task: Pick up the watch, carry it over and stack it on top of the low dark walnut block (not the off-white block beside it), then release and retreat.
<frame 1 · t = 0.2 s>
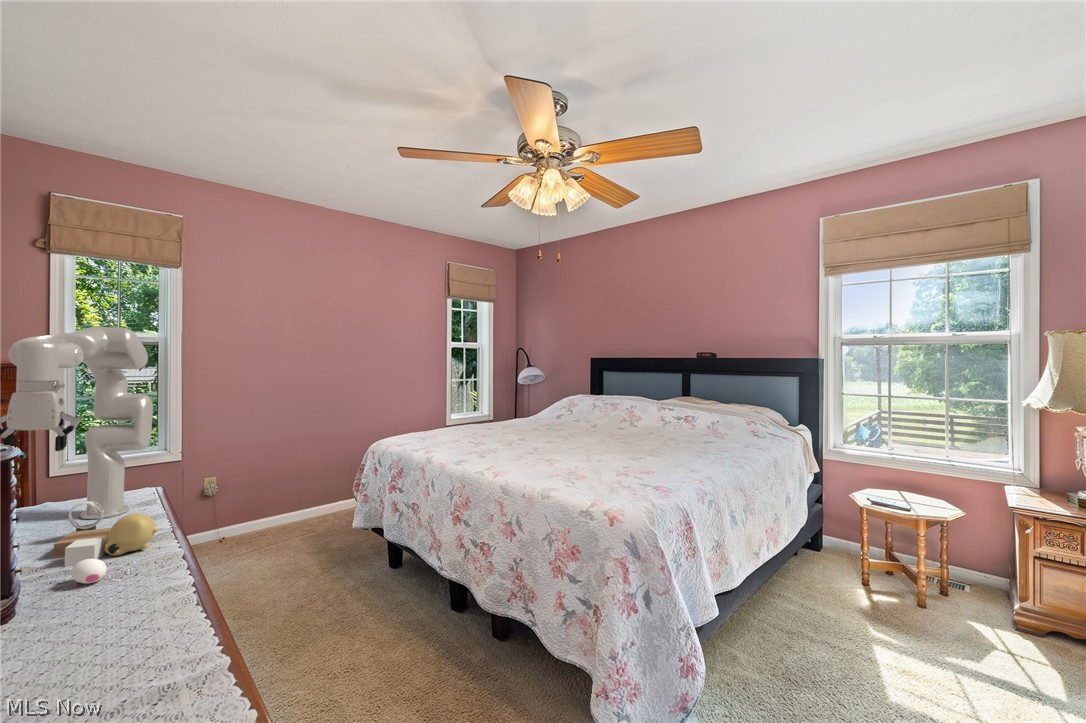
hand: (35, 451, 122), 31 cm above the dresser, fingers open, 9 cm apart
off-white block: (84, 560, 126), on the dresser
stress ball: (91, 582, 115), on the dresser
walnut block: (86, 549, 133), on the dresser
toy pig: (131, 551, 133), on the dresser
watch: (86, 538, 141), on the dresser
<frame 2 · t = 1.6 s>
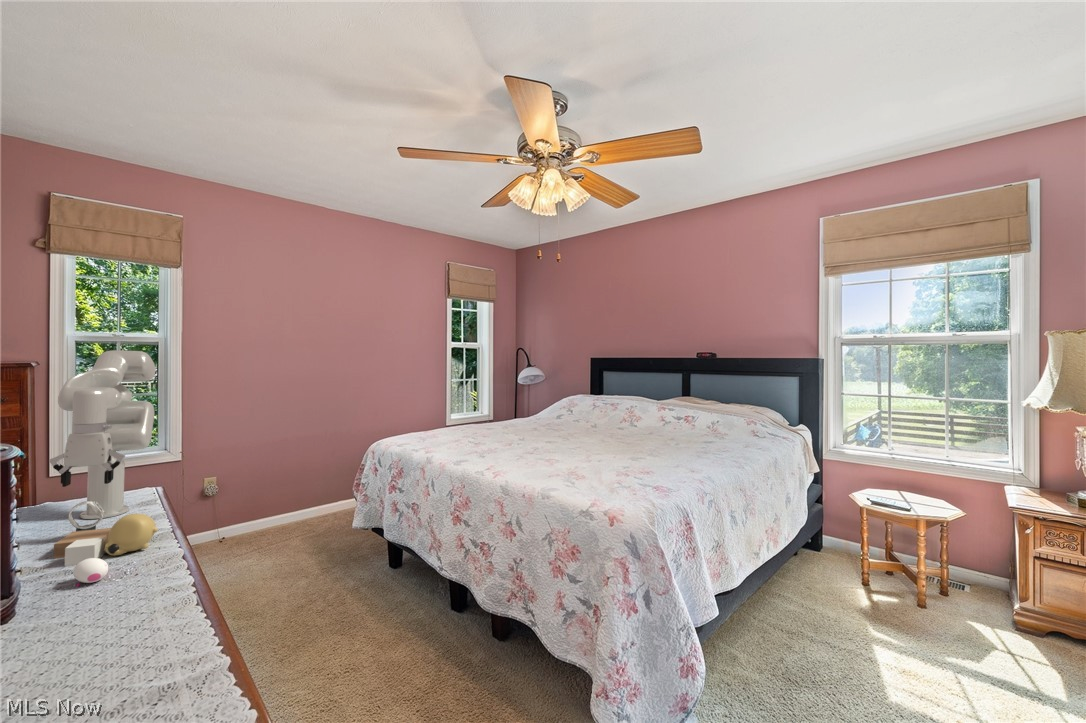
hand: (87, 484, 141), 17 cm above the dresser, fingers open, 9 cm apart
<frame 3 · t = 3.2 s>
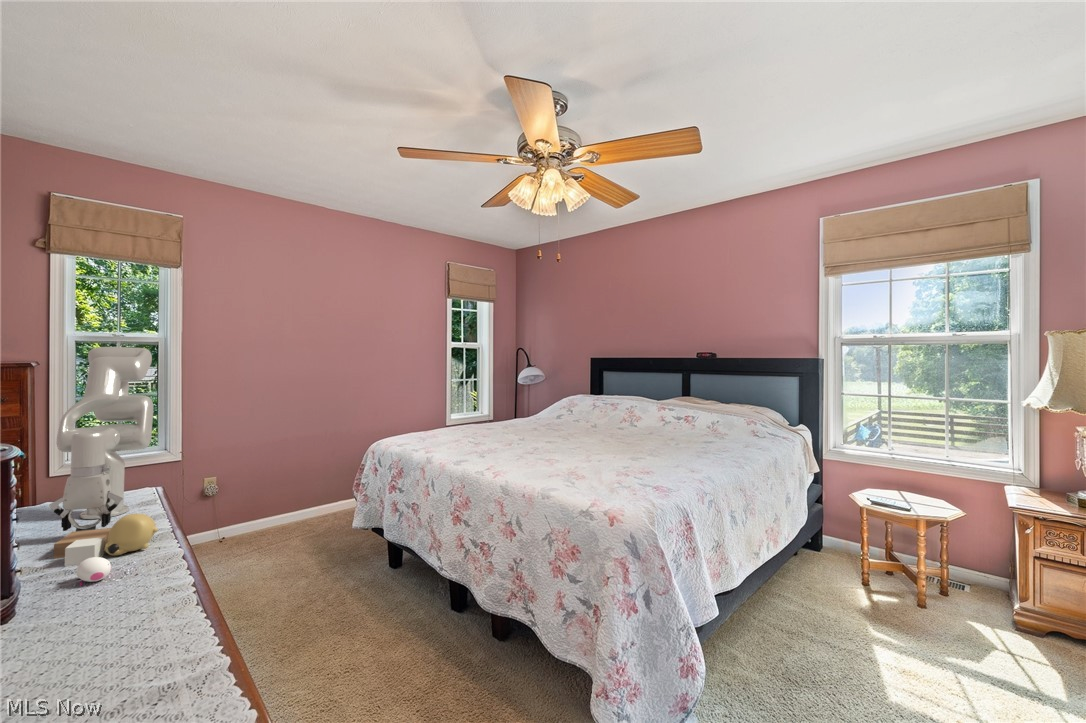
hand: (86, 527, 141), 3 cm above the dresser, fingers closed on watch, 8 cm apart
watch: (86, 538, 141), on the dresser, touching gripper
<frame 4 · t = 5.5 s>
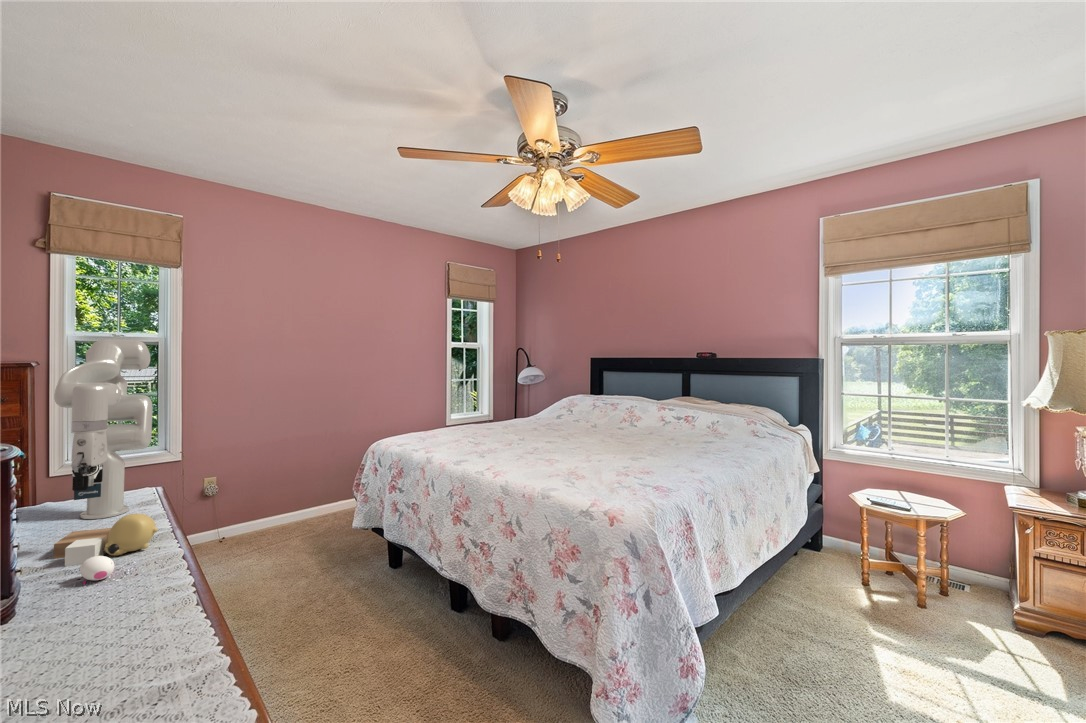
hand: (87, 485, 133), 18 cm above the dresser, fingers closed on watch, 8 cm apart
watch: (87, 497, 133), point 15 cm above the dresser, touching gripper
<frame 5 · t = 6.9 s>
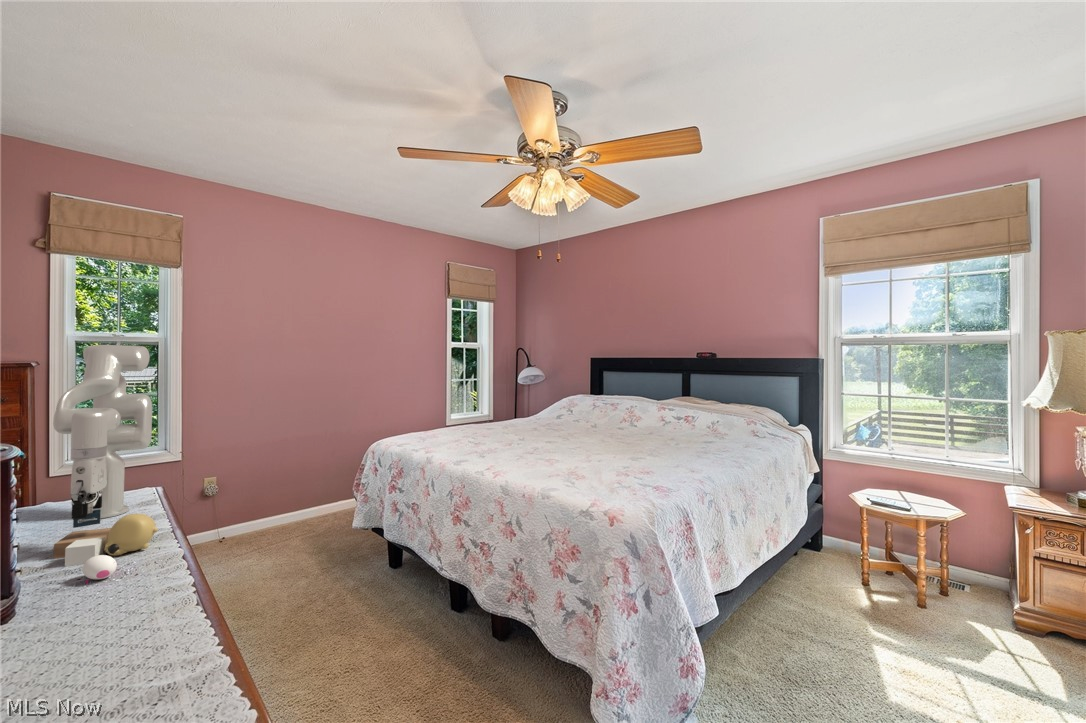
hand: (87, 512, 133), 11 cm above the dresser, fingers closed on watch, 8 cm apart
watch: (87, 524, 133), point 7 cm above the dresser, touching gripper
when the fingers open (8 cm above the dresser, at t = 8.1 s): watch stays where it is, resting on walnut block.
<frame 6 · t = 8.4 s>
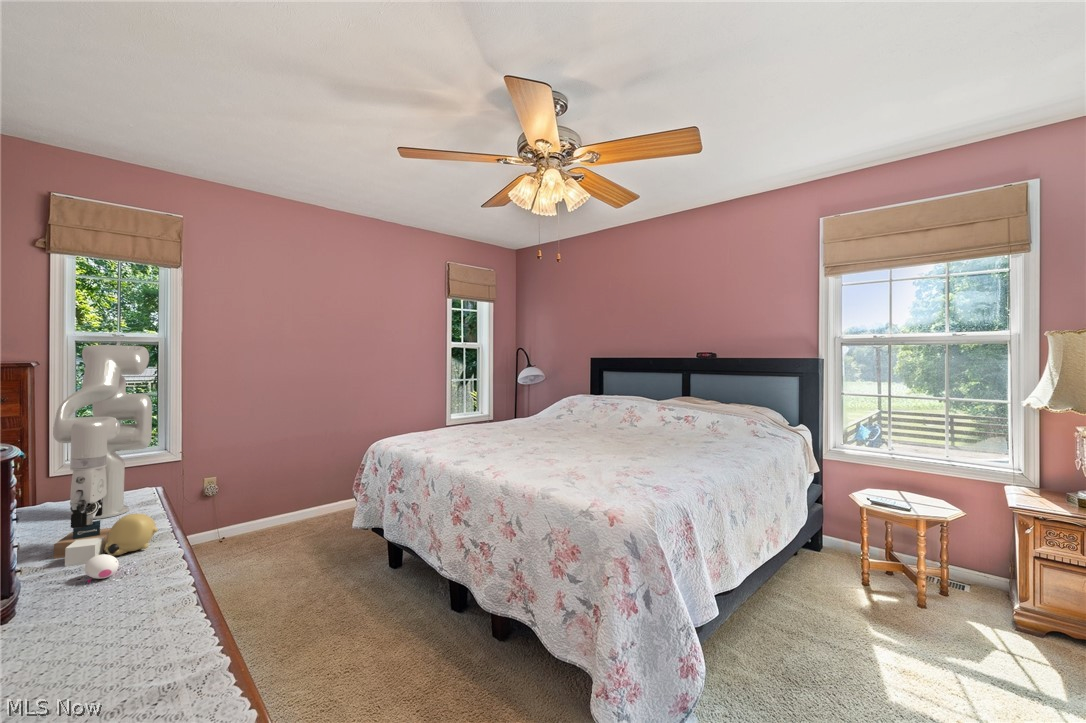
hand: (87, 521, 133), 8 cm above the dresser, fingers open, 9 cm apart
watch: (86, 535, 133), point 4 cm above the dresser, touching walnut block
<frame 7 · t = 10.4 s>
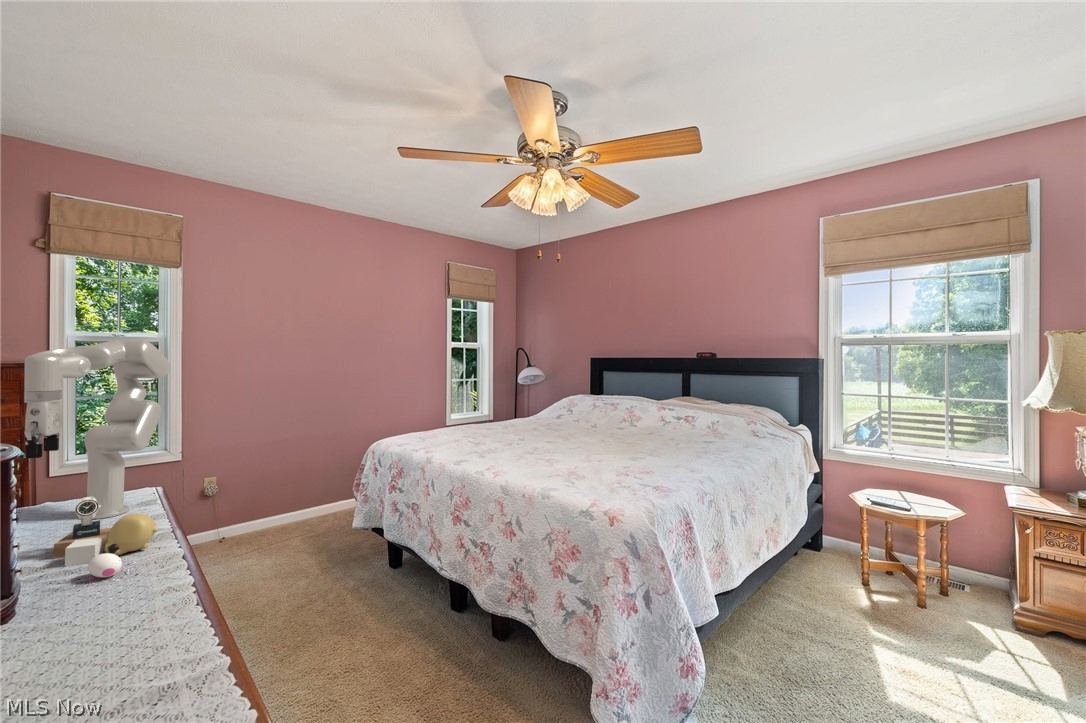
hand: (43, 454, 136), 27 cm above the dresser, fingers open, 9 cm apart
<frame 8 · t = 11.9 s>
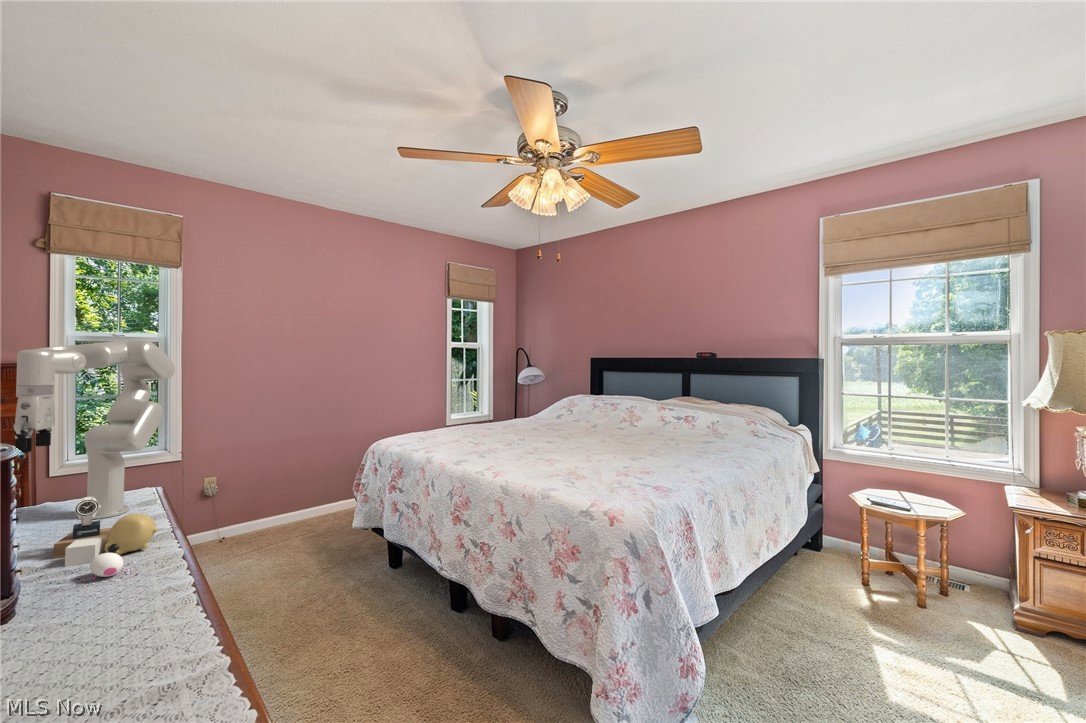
hand: (33, 448, 135), 28 cm above the dresser, fingers open, 9 cm apart
at the end: watch inside the target area on the walnut block (0.1 cm from its centre), point 3.8 cm above the walnut block's base; watch tilted 0°; the gripper is holding nothing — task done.
